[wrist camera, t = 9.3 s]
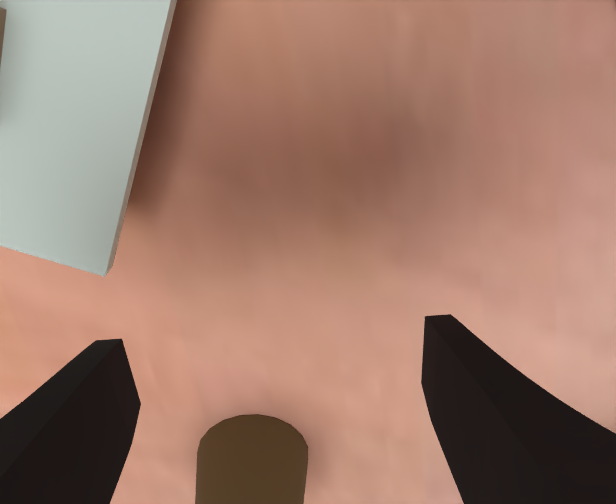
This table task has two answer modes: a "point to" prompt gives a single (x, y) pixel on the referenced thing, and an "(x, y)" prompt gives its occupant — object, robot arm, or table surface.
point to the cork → (251, 462)
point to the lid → (74, 121)
